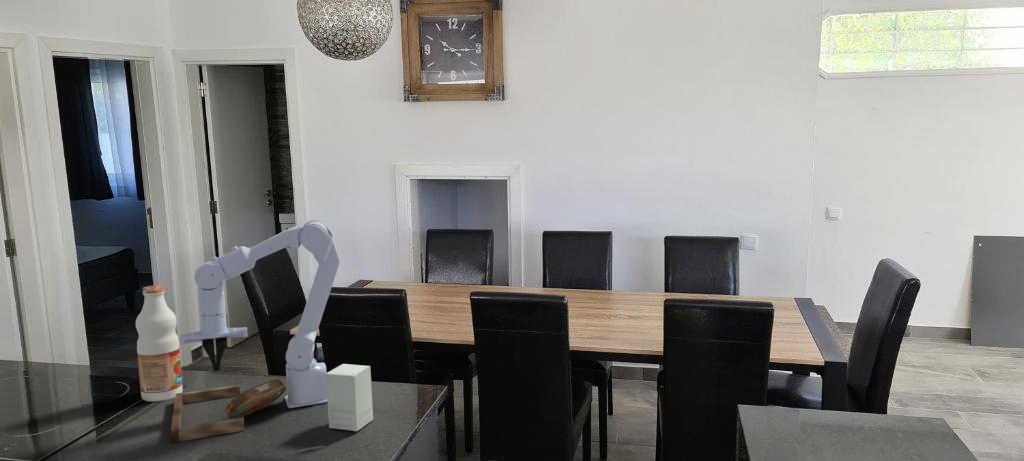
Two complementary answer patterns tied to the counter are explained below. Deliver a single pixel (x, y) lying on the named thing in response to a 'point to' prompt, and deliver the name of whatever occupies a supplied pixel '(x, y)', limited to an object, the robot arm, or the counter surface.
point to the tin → (255, 399)
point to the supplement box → (349, 397)
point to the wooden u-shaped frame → (206, 428)
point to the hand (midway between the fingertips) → (216, 369)
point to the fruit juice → (158, 348)
